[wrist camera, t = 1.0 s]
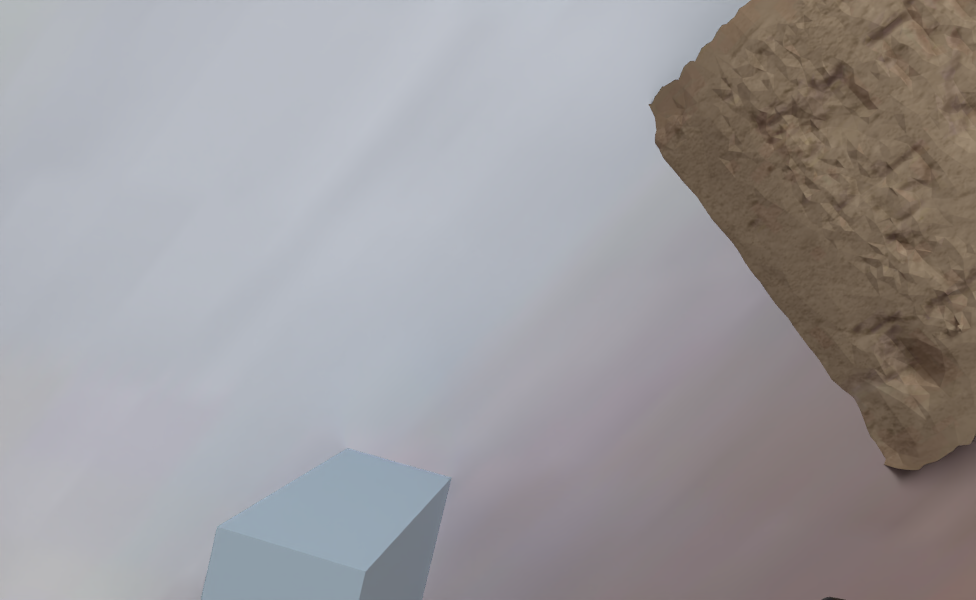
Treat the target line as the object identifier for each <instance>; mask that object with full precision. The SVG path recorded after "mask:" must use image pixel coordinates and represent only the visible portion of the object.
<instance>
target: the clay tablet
mask: <svg viewBox="0 0 976 600" xmlns="http://www.w3.org/2000/svg"><path fill="white" fill-rule="evenodd" d="M649 106H650V108H651V110H652V112H653V114H654V116H655V121H656V130H657V131H656V134H655V144H656V145H657V146H658V148H659V149H660V152H661V154H662V156H663V158H664V159H665V161H666V162H667V163H668V164H669V165H670V166H671V167H672V169H673V170H674V171H675V172H676V173H677V174H678V176H679V177H680V178H681V180H682V181H683V182H684V183H685V184H686V185H687V186H688V187H689V189H690V190H691V191H692V192H693V193H694V194H695V195H696V196H697V197H698V199H699V200H700V202H701V203H702V205H703V206H704V208H705V209H706V211H707V212H708V214H709V215H710V217H711V218H712V220H713V221H714V222H715V223H716V224H717V225H718V227H719V228H720V229H721V230H722V231H723V232H724V233H725V234H726V236H727V237H728V238H729V239H730V240H731V241H732V243H733V244H734V245H735V247H736V248H737V250H738V251H739V253H740V254H741V256H742V258H743V260H744V261H745V263H746V264H747V266H748V267H749V269H750V270H751V271H752V273H753V274H754V275H755V277H756V278H757V279H758V280H759V281H760V282H761V284H762V285H763V287H764V288H765V290H766V291H767V292H768V294H769V295H770V297H771V298H772V300H773V301H774V302H775V304H776V305H777V306H778V307H779V308H780V309H781V311H782V312H783V313H784V314H785V315H786V316H787V317H788V318H789V320H790V321H791V323H792V325H793V326H794V327H795V329H796V330H797V332H798V333H799V334H800V336H801V337H802V338H803V340H804V341H805V342H806V344H807V345H808V346H809V348H810V349H811V350H812V351H813V352H814V354H815V355H816V356H817V358H818V359H819V360H820V362H821V363H822V365H823V366H824V368H825V370H826V371H827V373H828V374H829V376H830V377H831V379H832V380H833V381H834V382H835V383H836V384H838V385H839V386H840V387H841V388H842V389H843V390H845V391H846V392H847V393H849V394H850V395H851V396H852V397H853V398H854V399H855V401H856V402H857V404H858V406H859V408H860V411H861V413H862V416H863V418H864V421H865V424H866V427H867V429H868V432H869V434H870V436H871V438H872V439H873V440H874V441H875V442H876V444H877V446H878V447H879V449H880V450H881V452H882V454H883V455H884V457H885V458H886V461H885V464H884V465H887V466H891V467H894V468H898V469H905V470H920V469H921V467H922V466H923V465H925V464H928V463H932V462H936V461H938V460H940V459H941V458H943V457H944V456H946V455H947V454H948V453H950V452H952V451H953V450H954V449H955V448H956V447H957V446H959V445H969V444H971V442H972V440H973V439H974V437H975V435H976V0H751V1H749V2H748V3H747V4H746V5H744V6H743V7H741V8H740V9H739V10H738V12H737V14H736V16H735V17H734V18H732V19H731V20H730V21H729V22H728V23H727V24H725V25H722V26H721V27H720V29H719V30H718V32H717V33H716V35H715V37H714V39H713V40H712V41H711V42H710V43H708V44H706V45H705V46H704V47H703V48H702V49H701V51H700V53H699V55H698V57H697V59H696V61H695V62H694V61H690V62H689V63H688V64H687V65H685V66H684V68H683V70H682V73H681V75H680V78H679V80H674V81H672V82H671V83H669V84H667V85H666V86H664V87H663V86H662V88H661V89H660V91H659V92H658V94H657V95H656V96H655V98H654V101H653V103H652V104H649Z"/></svg>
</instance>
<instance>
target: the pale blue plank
mask: <svg viewBox="0 0 976 600" xmlns="http://www.w3.org/2000/svg"><path fill="white" fill-rule="evenodd" d="M450 481H451V477H448V476H444V475H440V474H437V473H433V472H430V471H426V470H423V469H419V468H416V467H412V466H409V465H405V464H402V463H398V462H395V461H391V460H387V459H384V458H380V457H377V456H373V455H370V454H366V453H363V452H359V451H356V450H352V449H349V448H347V449H345V450H344V451H342V452H340V453H339V454H337V455H335V456H334V457H332V458H330V459H329V460H327V461H325V462H324V463H322V464H320V465H319V466H317V467H315V468H314V469H312V470H310V471H309V472H307V473H306V474H304V475H302V476H301V477H299V478H297V479H296V480H294V481H292V482H291V483H289V484H287V485H286V486H284V487H282V488H281V489H279V490H277V491H276V492H274V493H272V494H271V495H269V496H267V497H266V498H264V499H262V500H261V501H259V502H257V503H256V504H254V505H252V506H251V507H249V508H247V509H246V510H244V511H242V512H241V513H239V514H237V515H236V516H234V517H233V518H231V519H229V520H228V521H226V522H224V523H223V524H221V525H219V526H218V527H217V530H216V534H215V539H214V543H213V548H212V552H211V557H210V561H209V566H208V570H207V575H206V579H205V584H204V588H203V592H202V597H201V600H422V598H423V593H424V589H425V585H426V581H427V577H428V573H429V568H430V564H431V560H432V556H433V552H434V548H435V544H436V539H437V535H438V531H439V527H440V523H441V519H442V515H443V510H444V506H445V502H446V498H447V494H448V490H449V486H450Z"/></svg>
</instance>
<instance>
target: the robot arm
mask: <svg viewBox="0 0 976 600" xmlns="http://www.w3.org/2000/svg"><path fill="white" fill-rule="evenodd" d="M822 600H844V599H839V598H833V597H826V598H824V599H822Z"/></svg>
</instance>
